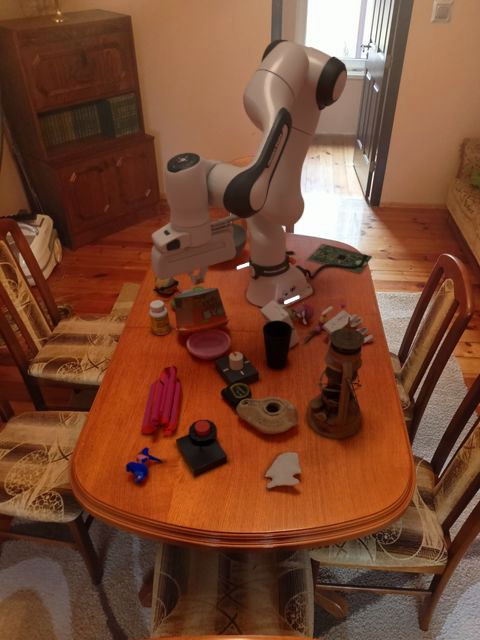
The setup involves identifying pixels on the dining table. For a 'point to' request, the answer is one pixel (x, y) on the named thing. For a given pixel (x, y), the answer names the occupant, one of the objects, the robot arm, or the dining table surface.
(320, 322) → the candy
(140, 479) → the figurine
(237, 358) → the dial knob
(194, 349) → the saucer
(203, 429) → the red button
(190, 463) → the button box
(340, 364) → the lantern
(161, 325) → the supplement bottle
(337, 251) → the circuit board
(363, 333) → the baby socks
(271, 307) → the ink box
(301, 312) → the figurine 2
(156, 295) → the dining table surface
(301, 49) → the robot arm
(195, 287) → the toy food set
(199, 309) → the food container
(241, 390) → the tape measure
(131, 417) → the dining table surface
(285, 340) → the cup
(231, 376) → the dial panel
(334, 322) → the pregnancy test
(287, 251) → the knife
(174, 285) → the toy
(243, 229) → the bowl
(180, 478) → the dining table surface
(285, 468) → the arrowhead
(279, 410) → the oil lamp
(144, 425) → the crystal
